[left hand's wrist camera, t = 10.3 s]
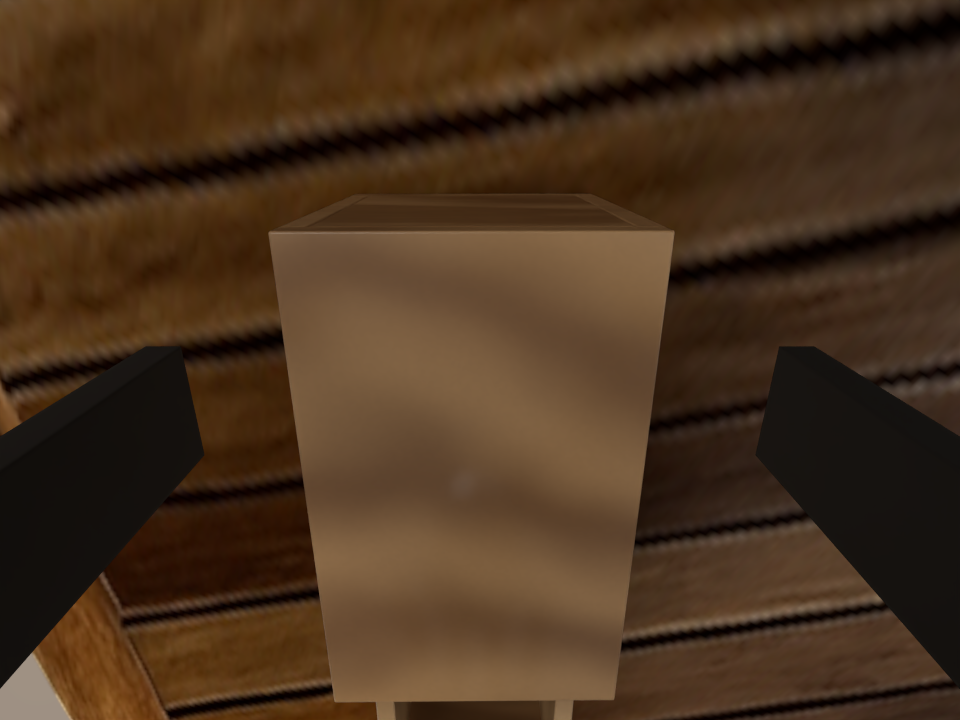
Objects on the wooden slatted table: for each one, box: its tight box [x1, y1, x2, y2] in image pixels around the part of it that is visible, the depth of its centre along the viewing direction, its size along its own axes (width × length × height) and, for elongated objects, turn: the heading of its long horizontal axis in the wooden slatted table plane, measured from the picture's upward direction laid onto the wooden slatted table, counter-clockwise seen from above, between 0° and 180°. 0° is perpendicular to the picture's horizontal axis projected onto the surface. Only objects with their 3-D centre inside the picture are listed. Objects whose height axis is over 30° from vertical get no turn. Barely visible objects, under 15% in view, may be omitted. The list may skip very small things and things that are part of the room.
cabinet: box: [268, 194, 675, 702], centre depth 23 cm, size 18×11×12 cm, turn 0°
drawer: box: [376, 700, 574, 720], centre depth 28 cm, size 23×10×10 cm, turn 0°
